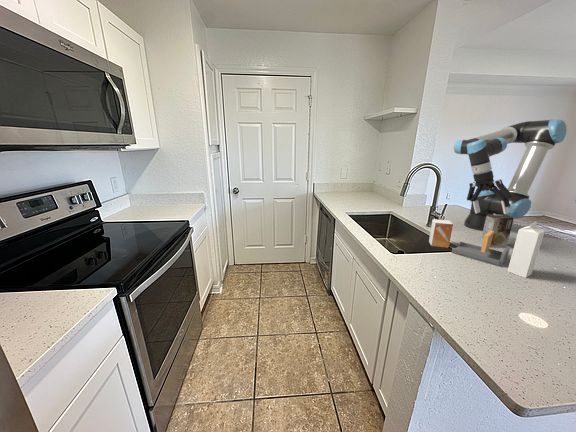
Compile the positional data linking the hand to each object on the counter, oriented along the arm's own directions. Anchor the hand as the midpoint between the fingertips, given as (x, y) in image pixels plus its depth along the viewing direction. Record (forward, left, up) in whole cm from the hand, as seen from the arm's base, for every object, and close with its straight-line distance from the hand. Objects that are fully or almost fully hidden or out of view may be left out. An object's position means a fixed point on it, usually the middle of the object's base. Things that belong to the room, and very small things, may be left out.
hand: (491, 212), depth 123 cm
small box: (+16, -16, -18) cm, 29 cm away
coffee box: (-4, +3, -18) cm, 19 cm away
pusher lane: (+16, +1, -18) cm, 24 cm away
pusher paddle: (+16, +3, -14) cm, 21 cm away
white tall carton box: (+23, +17, -18) cm, 34 cm away
